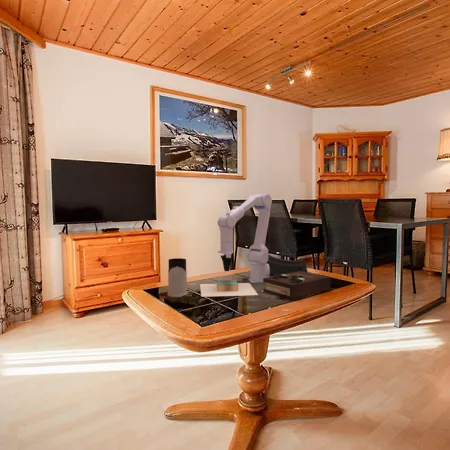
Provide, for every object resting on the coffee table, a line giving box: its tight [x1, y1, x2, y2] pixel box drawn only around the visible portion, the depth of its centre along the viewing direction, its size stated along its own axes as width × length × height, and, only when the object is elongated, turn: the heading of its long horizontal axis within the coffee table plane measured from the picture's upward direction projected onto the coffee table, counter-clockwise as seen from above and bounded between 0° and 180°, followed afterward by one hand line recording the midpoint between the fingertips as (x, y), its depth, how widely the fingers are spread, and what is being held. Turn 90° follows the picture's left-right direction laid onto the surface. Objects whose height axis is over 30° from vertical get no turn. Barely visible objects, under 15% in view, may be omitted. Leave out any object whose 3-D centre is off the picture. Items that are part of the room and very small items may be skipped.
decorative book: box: [262, 271, 331, 302], centre depth 147 cm, size 19×8×30 cm
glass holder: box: [167, 257, 188, 298], centre depth 144 cm, size 9×14×15 cm, turn 5°
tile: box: [216, 279, 239, 292], centre depth 149 cm, size 9×3×8 cm
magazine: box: [266, 253, 309, 275], centre depth 178 cm, size 17×3×30 cm
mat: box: [199, 282, 259, 298], centre depth 149 cm, size 24×22×1 cm
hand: (226, 271), depth 152 cm, fingers closed
